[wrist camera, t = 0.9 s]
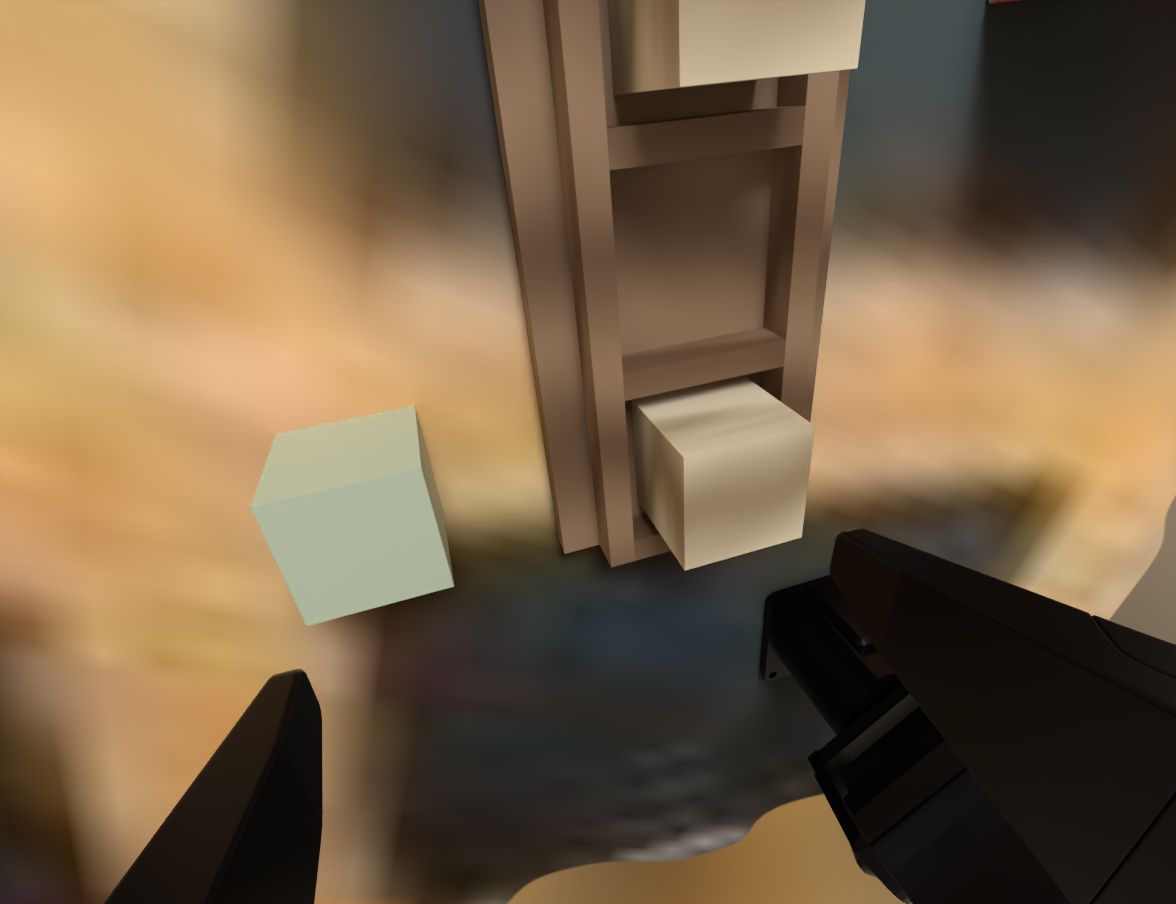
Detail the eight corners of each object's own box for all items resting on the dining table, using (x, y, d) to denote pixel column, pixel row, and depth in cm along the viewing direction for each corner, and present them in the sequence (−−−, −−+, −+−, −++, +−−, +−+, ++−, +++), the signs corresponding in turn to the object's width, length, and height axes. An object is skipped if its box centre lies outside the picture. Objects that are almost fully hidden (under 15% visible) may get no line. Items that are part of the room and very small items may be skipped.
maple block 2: (737, 474, 25) (801, 537, 21) (637, 499, 24) (684, 570, 20) (742, 374, 22) (814, 426, 19) (631, 398, 21) (683, 457, 18)
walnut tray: (789, 478, 27) (823, 508, 25) (558, 539, 25) (574, 577, 23) (857, -203, 16) (928, -253, 14) (447, -205, 14) (459, -264, 12)
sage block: (442, 509, 23) (454, 586, 19) (320, 538, 22) (306, 625, 18) (414, 404, 20) (421, 468, 17) (276, 432, 19) (250, 506, 16)
